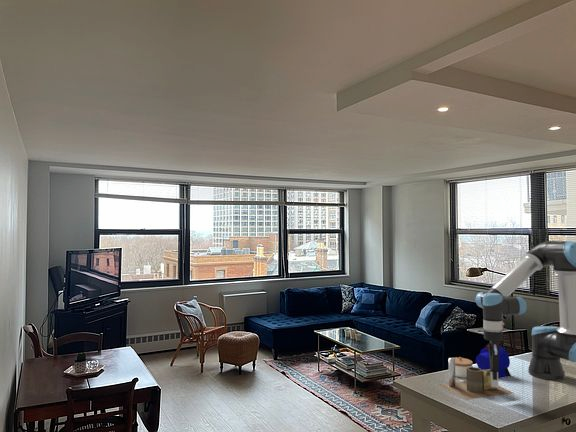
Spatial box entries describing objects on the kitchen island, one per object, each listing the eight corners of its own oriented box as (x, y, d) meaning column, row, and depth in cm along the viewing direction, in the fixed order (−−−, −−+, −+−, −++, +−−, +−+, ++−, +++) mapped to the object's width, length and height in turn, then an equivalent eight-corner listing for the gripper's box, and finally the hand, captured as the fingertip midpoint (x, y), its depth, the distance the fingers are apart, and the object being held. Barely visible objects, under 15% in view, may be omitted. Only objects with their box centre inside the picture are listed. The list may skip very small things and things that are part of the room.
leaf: (497, 388, 183) (496, 370, 183) (498, 388, 182) (497, 370, 182) (482, 389, 181) (482, 371, 181) (483, 390, 181) (483, 371, 181)
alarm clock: (511, 376, 203) (511, 344, 204) (493, 379, 198) (492, 347, 199) (490, 368, 214) (490, 338, 215) (472, 371, 210) (472, 341, 210)
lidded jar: (465, 382, 194) (465, 362, 194) (444, 376, 202) (443, 356, 203) (477, 377, 201) (476, 357, 201) (455, 372, 209) (455, 352, 209)
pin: (452, 384, 188) (452, 357, 188) (456, 387, 185) (456, 359, 186) (447, 385, 187) (447, 357, 187) (451, 387, 184) (451, 359, 185)
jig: (483, 381, 195) (482, 359, 196) (514, 395, 178) (513, 371, 179) (438, 386, 189) (438, 363, 189) (466, 402, 171) (466, 376, 172)
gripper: (505, 334, 173) (507, 393, 171) (500, 327, 185) (502, 382, 184) (485, 332, 175) (487, 391, 174) (481, 326, 187) (483, 381, 186)
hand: (494, 386), depth 179 cm, fingers closed
